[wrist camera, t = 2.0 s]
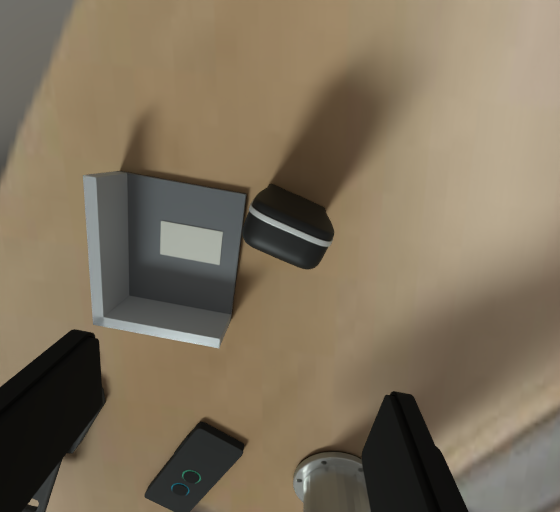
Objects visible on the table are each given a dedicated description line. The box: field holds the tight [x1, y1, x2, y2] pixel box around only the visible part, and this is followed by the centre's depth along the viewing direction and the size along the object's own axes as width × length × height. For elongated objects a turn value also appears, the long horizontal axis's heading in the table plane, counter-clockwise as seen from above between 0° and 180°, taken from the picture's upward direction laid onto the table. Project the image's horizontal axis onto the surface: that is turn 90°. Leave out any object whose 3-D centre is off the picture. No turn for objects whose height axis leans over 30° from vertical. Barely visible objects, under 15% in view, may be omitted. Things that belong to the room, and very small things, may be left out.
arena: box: [83, 171, 247, 348], centre depth 32 cm, size 14×16×6 cm
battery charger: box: [242, 184, 334, 269], centre depth 27 cm, size 7×4×11 cm, turn 67°
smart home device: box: [145, 422, 244, 512], centre depth 47 cm, size 8×2×20 cm
